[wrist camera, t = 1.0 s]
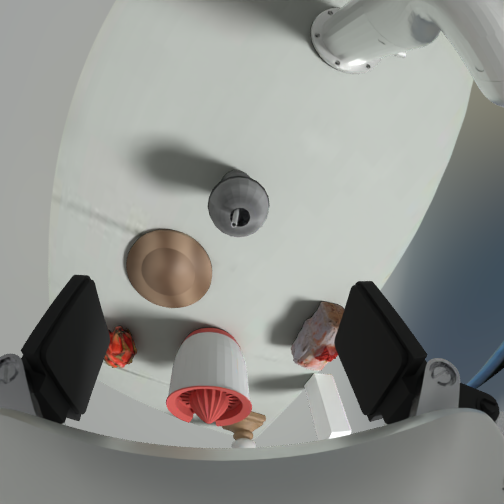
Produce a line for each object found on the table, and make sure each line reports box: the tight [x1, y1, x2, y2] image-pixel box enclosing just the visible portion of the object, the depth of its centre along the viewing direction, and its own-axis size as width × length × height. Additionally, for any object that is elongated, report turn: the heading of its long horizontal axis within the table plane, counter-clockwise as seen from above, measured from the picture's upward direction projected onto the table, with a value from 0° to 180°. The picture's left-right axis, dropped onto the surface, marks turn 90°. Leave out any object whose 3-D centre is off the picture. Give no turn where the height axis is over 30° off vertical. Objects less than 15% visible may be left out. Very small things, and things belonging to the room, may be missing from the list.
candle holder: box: [222, 411, 266, 448], centre depth 64 cm, size 11×11×24 cm
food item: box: [291, 302, 345, 370], centre depth 53 cm, size 14×8×10 cm, turn 158°
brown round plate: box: [126, 229, 212, 308], centre depth 48 cm, size 16×16×1 cm
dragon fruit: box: [104, 326, 137, 368], centre depth 52 cm, size 8×8×12 cm
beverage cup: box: [208, 170, 269, 237], centre depth 33 cm, size 7×7×20 cm
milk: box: [304, 373, 351, 441], centre depth 58 cm, size 6×6×22 cm
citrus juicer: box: [166, 328, 252, 426], centre depth 49 cm, size 16×17×20 cm
